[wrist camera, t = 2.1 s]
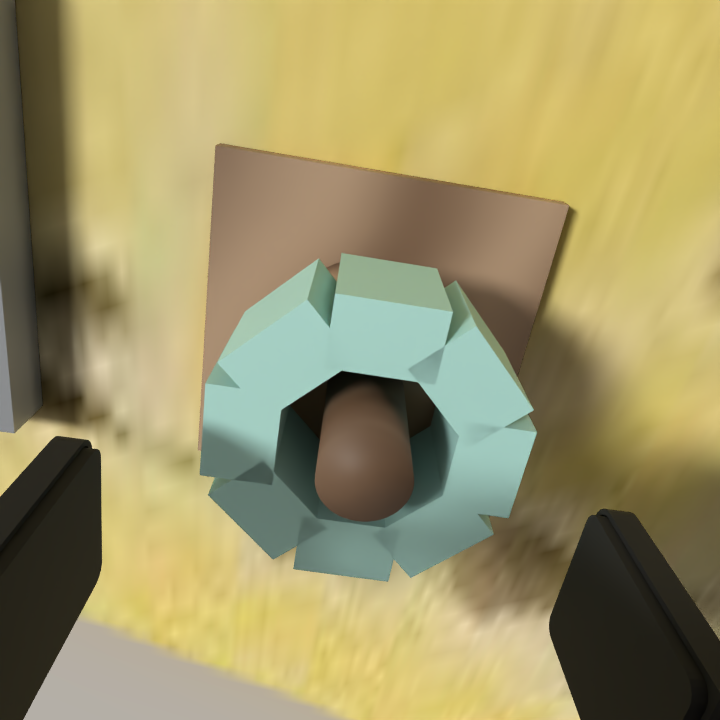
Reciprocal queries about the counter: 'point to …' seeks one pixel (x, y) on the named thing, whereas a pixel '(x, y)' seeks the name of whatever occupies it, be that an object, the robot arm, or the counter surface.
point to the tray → (15, 246)
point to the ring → (379, 358)
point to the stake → (381, 241)
